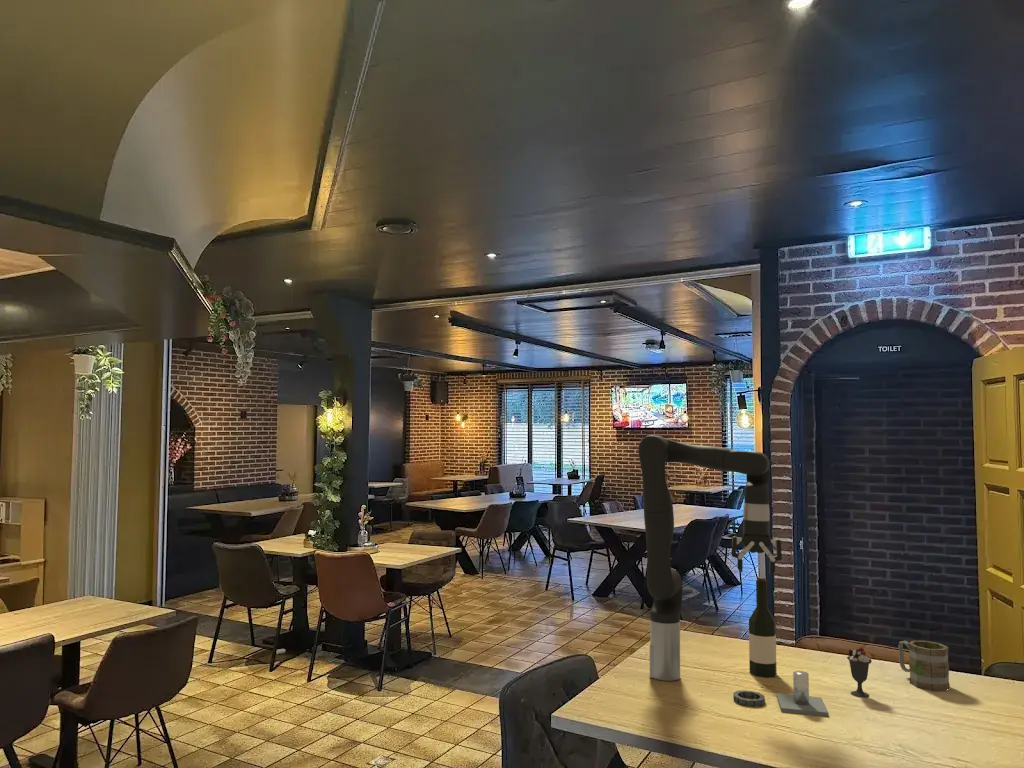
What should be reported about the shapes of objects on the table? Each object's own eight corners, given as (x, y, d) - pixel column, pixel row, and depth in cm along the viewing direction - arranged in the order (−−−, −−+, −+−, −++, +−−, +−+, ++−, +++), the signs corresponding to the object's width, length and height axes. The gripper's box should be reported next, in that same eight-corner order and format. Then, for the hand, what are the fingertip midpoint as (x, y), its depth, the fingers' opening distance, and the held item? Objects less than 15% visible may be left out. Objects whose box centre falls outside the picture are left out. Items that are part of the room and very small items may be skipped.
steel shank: (794, 704, 199) (794, 674, 200) (792, 699, 203) (792, 670, 204) (810, 705, 198) (809, 676, 199) (807, 700, 202) (807, 671, 203)
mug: (958, 689, 216) (957, 648, 217) (933, 693, 212) (931, 651, 213) (912, 673, 231) (911, 635, 232) (887, 677, 227) (886, 638, 228)
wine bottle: (773, 670, 232) (771, 575, 235) (780, 678, 224) (778, 580, 226) (746, 668, 233) (745, 575, 235) (752, 677, 225) (751, 579, 227)
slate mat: (781, 711, 196) (781, 707, 196) (776, 696, 208) (776, 693, 208) (828, 716, 193) (828, 712, 193) (821, 701, 205) (821, 697, 205)
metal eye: (734, 704, 201) (734, 699, 201) (732, 694, 209) (732, 689, 209) (765, 707, 199) (765, 702, 199) (763, 697, 207) (763, 692, 207)
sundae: (875, 699, 206) (874, 646, 208) (850, 697, 208) (849, 644, 209) (869, 691, 213) (867, 639, 214) (845, 689, 214) (843, 638, 215)
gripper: (732, 518, 215) (731, 573, 214) (782, 521, 211) (782, 577, 210) (731, 515, 222) (730, 568, 221) (780, 518, 218) (779, 572, 217)
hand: (756, 572), depth 215 cm, fingers open, 8 cm apart
